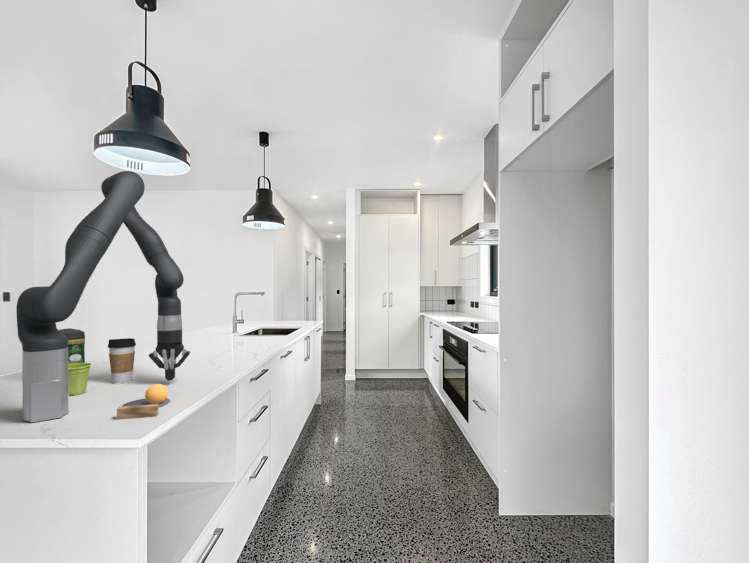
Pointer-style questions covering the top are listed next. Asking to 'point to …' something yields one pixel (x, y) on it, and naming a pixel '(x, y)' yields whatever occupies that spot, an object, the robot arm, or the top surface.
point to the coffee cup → (121, 359)
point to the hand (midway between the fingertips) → (170, 380)
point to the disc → (145, 402)
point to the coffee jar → (75, 345)
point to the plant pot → (78, 377)
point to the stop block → (137, 411)
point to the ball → (156, 394)
